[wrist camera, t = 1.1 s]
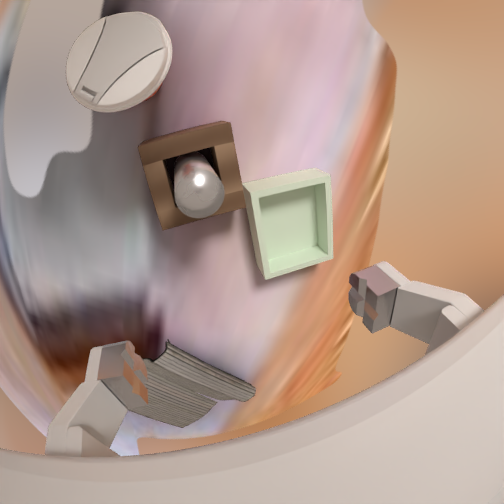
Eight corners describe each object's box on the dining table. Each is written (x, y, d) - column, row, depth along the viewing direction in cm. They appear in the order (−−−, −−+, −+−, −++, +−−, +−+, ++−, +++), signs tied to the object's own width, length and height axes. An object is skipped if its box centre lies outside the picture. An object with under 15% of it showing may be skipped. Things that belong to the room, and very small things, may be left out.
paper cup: (145, 123, 27) (124, 133, 15) (92, 92, 23) (40, 84, 11) (187, 68, 25) (198, 37, 13) (134, 36, 21) (110, -10, 10)
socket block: (143, 141, 28) (137, 146, 24) (221, 120, 29) (230, 122, 25) (163, 213, 33) (162, 230, 28) (236, 193, 34) (246, 207, 30)
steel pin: (170, 156, 30) (169, 178, 20) (204, 147, 30) (219, 164, 21) (178, 187, 32) (181, 223, 22) (211, 179, 32) (228, 210, 23)
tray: (241, 183, 33) (250, 193, 30) (315, 167, 35) (330, 175, 32) (256, 264, 40) (265, 279, 36) (320, 245, 41) (333, 258, 38)
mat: (96, 387, 45) (94, 406, 41) (165, 329, 42) (167, 351, 38) (179, 421, 57) (181, 438, 53) (252, 378, 54) (259, 395, 50)
